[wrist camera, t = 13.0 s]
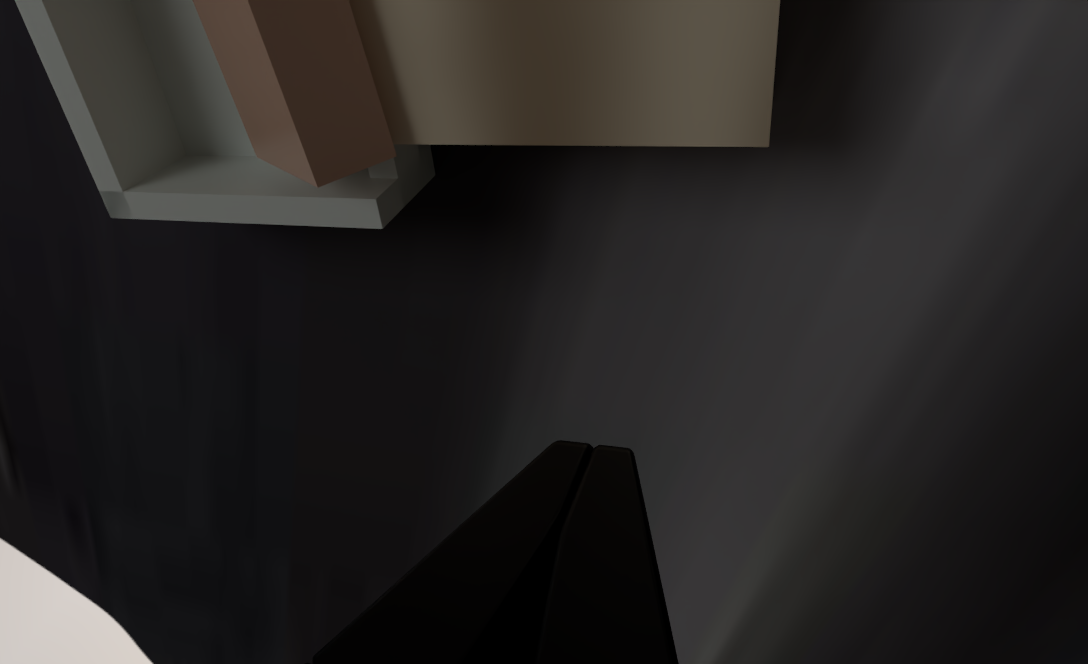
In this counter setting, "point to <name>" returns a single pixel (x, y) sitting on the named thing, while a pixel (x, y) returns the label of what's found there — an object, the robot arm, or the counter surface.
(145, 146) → the tray
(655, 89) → the tan flat block
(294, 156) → the tile
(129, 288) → the counter surface
